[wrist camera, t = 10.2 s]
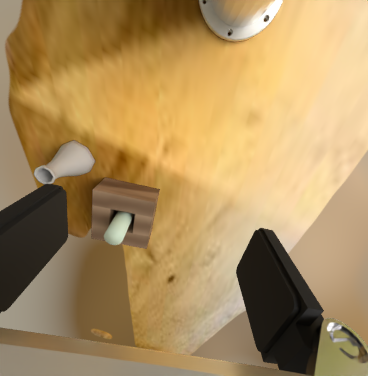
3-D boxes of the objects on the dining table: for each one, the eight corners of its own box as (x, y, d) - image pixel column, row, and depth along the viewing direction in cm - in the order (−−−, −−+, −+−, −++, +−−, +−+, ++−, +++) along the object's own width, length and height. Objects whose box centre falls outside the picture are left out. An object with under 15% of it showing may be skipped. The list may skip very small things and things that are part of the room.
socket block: (105, 177, 41) (92, 189, 36) (159, 189, 42) (155, 202, 37) (102, 221, 46) (91, 238, 41) (151, 231, 47) (146, 248, 42)
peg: (121, 200, 42) (104, 228, 33) (136, 204, 43) (124, 232, 34) (120, 213, 44) (103, 243, 35) (134, 216, 44) (121, 246, 35)
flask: (101, 161, 40) (76, 179, 31) (79, 180, 42) (49, 203, 33) (74, 133, 37) (37, 144, 28) (52, 155, 39) (11, 171, 30)
